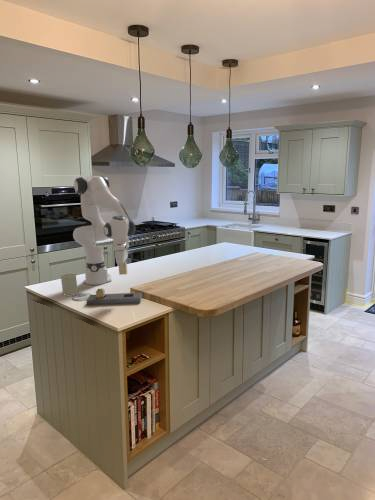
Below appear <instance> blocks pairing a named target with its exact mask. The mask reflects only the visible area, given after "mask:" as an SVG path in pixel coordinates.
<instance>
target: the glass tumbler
mask: <svg viewBox="0 0 375 500" xmlns="http://www.w3.org/2000/svg"><path fill="white" fill-rule="evenodd" d="M60 279H61V280H60V281H61V288H62V289H61V290H62V295H63V294H65V295H72V296H74V295H73V294H75V295H77V294H79V290H78V281H77V274H76V273H67V274H66V273H65V274H62V275H61V276H60Z"/></svg>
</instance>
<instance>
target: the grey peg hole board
mask: <svg viewBox="0 0 375 500" xmlns="http://www.w3.org/2000/svg"><path fill="white" fill-rule="evenodd" d="M142 298H143V293H142V292H125V293H124V292H123V293H122V292H121V293H105V298H100V299H97V298H96V294H90V295H89V296H88V298H87V299H86V306H87V305H88V306H102V305H103V306H107V305H110V306H111V305H125V304H126V305H127V304H130V305H131V304H141V302H142Z"/></svg>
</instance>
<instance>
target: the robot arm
mask: <svg viewBox="0 0 375 500" xmlns="http://www.w3.org/2000/svg"><path fill="white" fill-rule="evenodd" d="M73 183H74V184H73V187H74V191H75V192H76V193H77V194H79V195H80V207H81V215H82V217H83V219H85V220H86V221H89V222H90V223H91V225H85V226H79V227H76V228H75V229H74V230H73V233H72V237H73V240H74V241H75V242H76V243H77V244H79V245H80V246H81V247H82V248H83V249H84V251H85V257H86V269H85V271H84V274H85V275H84V276H85V277H84V278H85V280H83V283H84V284H86V285H93V286H95V285H97V286H98V285H102V284H105V283H110V282H112V275H111V274H109V273H108V269H107V267H106V261H105V258H104V251H103V249H102V248H101V247H100V246H96V245H95V243H96V242H101V241H102V242H103V241H106V240H108V239H112V251H113V252H114V256H115V262H116V264H117V265H118V264H120V267H121V270H124V262H125V261H126V262H127V258H128V257H129V253H128V248H130V241H129V240H130V239H129V237H132V236H133V235H134V234H135V232H136V224H135V222H134V221H133V220H132V218H131V217H130V215H129V214H128V212H127V211H126V209H125V207H124V206H123V204H122V202H121V201H120V200H119V198H117V197H116V196H114V195H113V194H112V193H111V191H110V181H109V179H108V177H107V176H106V175H105V176H104V175H90V176H82V177H81V176H80V177H77V178H75V180H74V182H73ZM99 207H100V208H104V209H109V210H111V211H114V212H116V214H117V215H114V216H112V217H111V220H109V221H108V222H105V221H104V220H103V219H102V216H101V213H100V208H99Z"/></svg>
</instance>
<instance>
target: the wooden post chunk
mask: <svg viewBox="0 0 375 500" xmlns="http://www.w3.org/2000/svg"><path fill="white" fill-rule="evenodd" d="M117 265H118V274H119V275H122V276H123V275H127V274H128V264H127V260H126V261H125V262H124V270H121V267H120V264H117Z"/></svg>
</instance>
